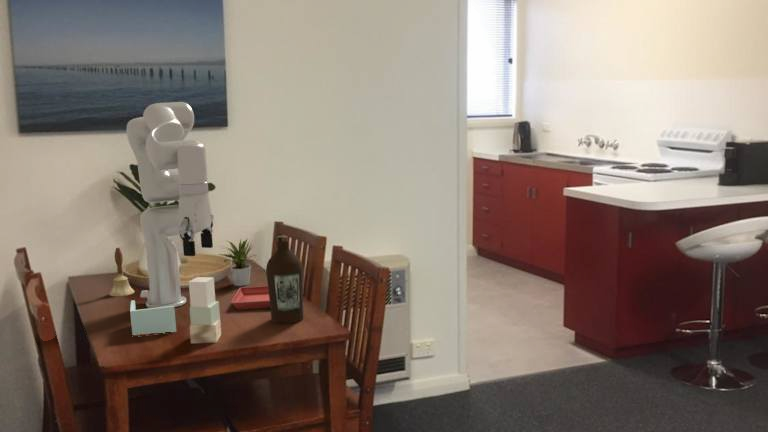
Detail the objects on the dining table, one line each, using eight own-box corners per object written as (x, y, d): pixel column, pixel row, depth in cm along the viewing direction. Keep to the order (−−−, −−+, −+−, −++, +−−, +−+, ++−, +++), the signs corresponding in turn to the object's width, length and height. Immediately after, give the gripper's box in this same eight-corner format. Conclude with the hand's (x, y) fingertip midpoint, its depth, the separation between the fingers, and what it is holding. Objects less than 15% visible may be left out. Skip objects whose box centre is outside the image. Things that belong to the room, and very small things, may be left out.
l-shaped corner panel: (176, 331, 229) (174, 306, 228) (132, 337, 226) (130, 311, 225) (175, 320, 241) (173, 295, 239) (133, 325, 237) (131, 300, 236)
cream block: (190, 306, 218) (188, 281, 217) (198, 301, 223) (197, 277, 222) (207, 307, 217) (205, 282, 216) (215, 302, 222) (213, 277, 221)
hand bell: (139, 291, 275) (135, 246, 273) (120, 297, 269) (115, 251, 266) (123, 289, 280) (119, 244, 277) (103, 295, 273) (99, 249, 270)
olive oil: (267, 316, 240) (261, 234, 236) (302, 312, 243) (297, 231, 239) (272, 326, 230) (266, 241, 226) (308, 322, 233) (303, 238, 229)
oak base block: (191, 343, 218) (189, 326, 218) (196, 335, 225) (194, 318, 225) (216, 342, 219) (215, 325, 218) (221, 334, 225) (220, 317, 225)
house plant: (228, 278, 289) (225, 233, 287) (266, 277, 288) (263, 233, 285) (215, 288, 276) (211, 242, 273) (254, 288, 274) (251, 241, 271)
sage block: (190, 324, 219) (189, 307, 218) (199, 318, 225) (198, 301, 224) (211, 325, 218) (210, 307, 217) (220, 318, 224) (218, 301, 223)
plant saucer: (231, 312, 248) (230, 301, 247) (240, 296, 266) (239, 286, 265) (289, 309, 248) (289, 299, 248) (295, 294, 266) (294, 284, 265)
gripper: (197, 184, 224) (201, 244, 227) (164, 194, 208) (169, 258, 211) (221, 184, 222) (225, 245, 225) (190, 194, 206) (195, 259, 209)
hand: (198, 251), depth 218 cm, fingers open, 9 cm apart
